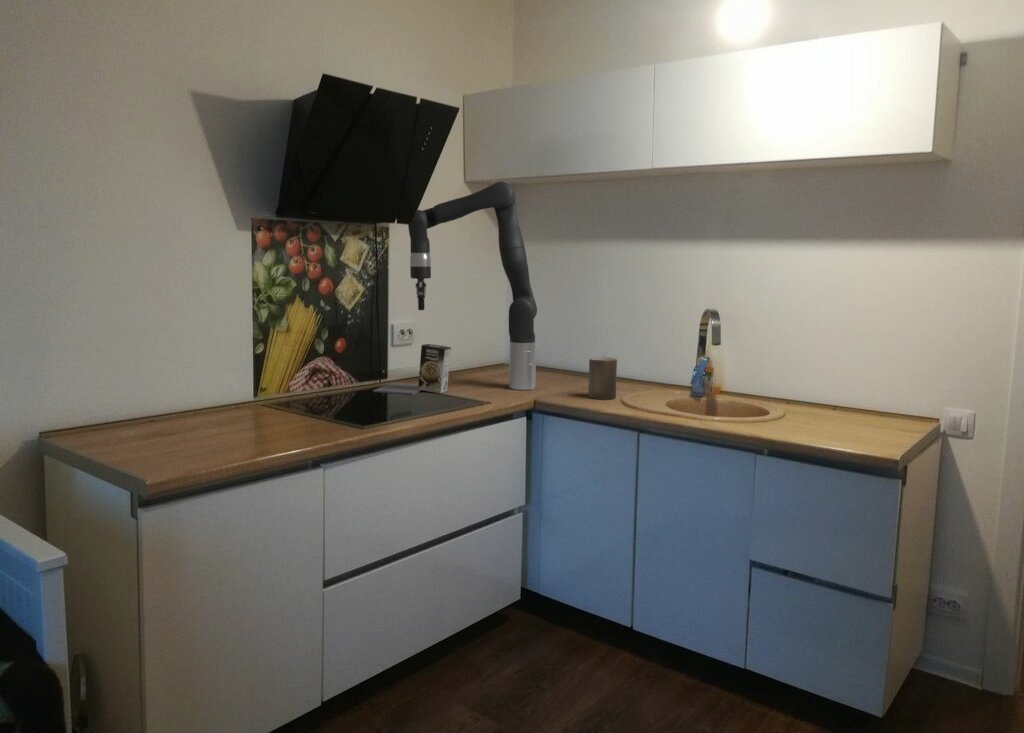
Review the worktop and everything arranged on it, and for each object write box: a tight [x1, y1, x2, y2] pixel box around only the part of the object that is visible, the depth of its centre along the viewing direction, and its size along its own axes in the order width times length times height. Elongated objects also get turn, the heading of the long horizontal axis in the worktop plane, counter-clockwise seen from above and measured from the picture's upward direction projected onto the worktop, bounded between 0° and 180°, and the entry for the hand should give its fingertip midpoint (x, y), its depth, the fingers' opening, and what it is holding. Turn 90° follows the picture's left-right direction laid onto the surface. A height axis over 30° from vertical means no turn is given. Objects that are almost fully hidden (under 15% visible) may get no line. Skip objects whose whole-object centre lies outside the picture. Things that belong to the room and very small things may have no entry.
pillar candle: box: [587, 354, 618, 401], centre depth 263 cm, size 10×10×15 cm
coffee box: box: [417, 343, 452, 394], centre depth 268 cm, size 9×6×16 cm
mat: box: [372, 382, 424, 396], centre depth 272 cm, size 15×18×1 cm
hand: (421, 309), depth 281 cm, fingers open, 8 cm apart
